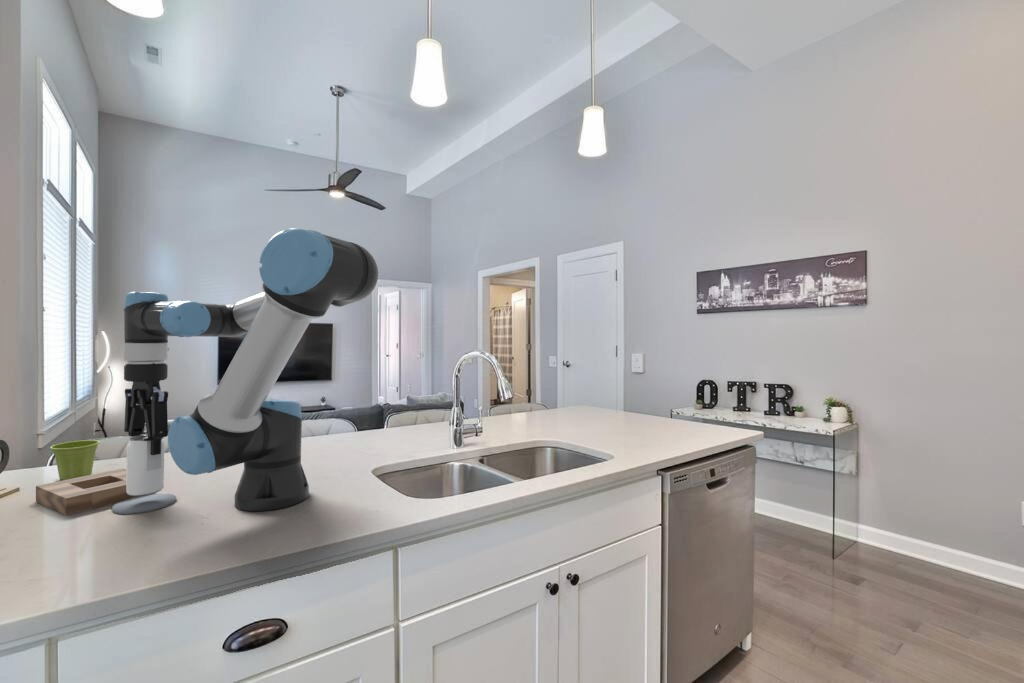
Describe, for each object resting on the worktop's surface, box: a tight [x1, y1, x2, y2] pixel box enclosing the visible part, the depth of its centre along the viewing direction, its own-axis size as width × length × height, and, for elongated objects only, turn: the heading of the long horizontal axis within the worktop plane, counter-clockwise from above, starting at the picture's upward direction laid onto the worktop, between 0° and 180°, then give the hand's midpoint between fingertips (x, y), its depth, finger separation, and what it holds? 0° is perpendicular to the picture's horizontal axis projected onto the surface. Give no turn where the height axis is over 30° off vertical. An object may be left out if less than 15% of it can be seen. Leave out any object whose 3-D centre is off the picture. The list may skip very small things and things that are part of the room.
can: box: [126, 434, 165, 496], centre depth 101 cm, size 6×6×12 cm
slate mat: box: [111, 493, 177, 515], centre depth 101 cm, size 11×11×1 cm
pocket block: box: [35, 468, 144, 516], centre depth 106 cm, size 16×16×4 cm
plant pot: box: [50, 439, 101, 481], centre depth 120 cm, size 9×9×9 cm
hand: (145, 466), depth 101 cm, fingers closed on can, 6 cm apart
